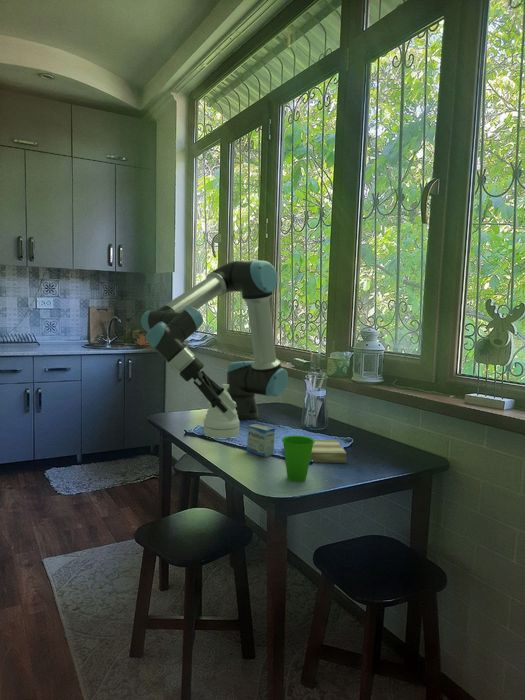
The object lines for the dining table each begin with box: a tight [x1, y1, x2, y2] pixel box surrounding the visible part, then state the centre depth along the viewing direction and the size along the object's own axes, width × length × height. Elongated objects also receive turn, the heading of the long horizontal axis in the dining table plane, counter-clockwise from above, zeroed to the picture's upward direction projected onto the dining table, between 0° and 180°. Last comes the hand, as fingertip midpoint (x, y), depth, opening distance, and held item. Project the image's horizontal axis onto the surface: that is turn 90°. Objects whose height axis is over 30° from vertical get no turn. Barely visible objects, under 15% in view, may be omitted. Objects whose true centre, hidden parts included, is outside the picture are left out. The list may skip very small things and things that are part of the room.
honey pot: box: [203, 383, 241, 438], centre depth 176 cm, size 13×13×18 cm
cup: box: [281, 434, 315, 483], centre depth 135 cm, size 9×9×11 cm
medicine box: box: [246, 423, 276, 458], centre depth 156 cm, size 8×4×9 cm, turn 50°
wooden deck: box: [282, 439, 347, 464], centre depth 157 cm, size 14×18×3 cm
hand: (233, 413), depth 155 cm, fingers open, 13 cm apart
